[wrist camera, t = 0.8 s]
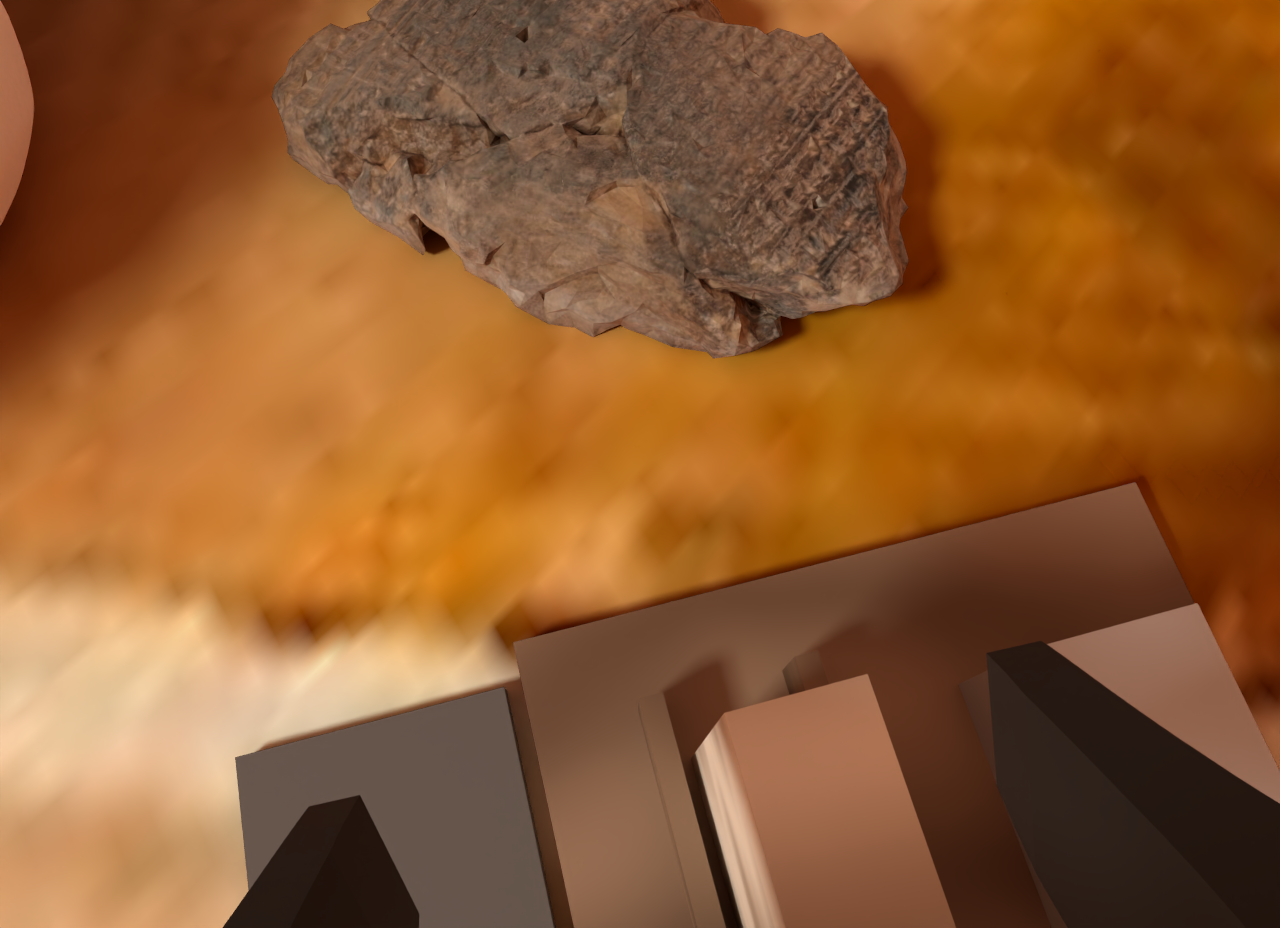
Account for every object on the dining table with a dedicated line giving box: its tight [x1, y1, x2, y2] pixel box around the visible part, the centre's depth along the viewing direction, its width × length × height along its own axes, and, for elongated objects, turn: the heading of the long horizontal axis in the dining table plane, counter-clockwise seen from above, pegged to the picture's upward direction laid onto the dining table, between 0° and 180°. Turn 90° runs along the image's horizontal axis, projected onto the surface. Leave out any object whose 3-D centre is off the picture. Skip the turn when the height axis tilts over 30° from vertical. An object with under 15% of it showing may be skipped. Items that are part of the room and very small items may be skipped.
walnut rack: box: [513, 482, 1195, 928], centre depth 22 cm, size 18×18×3 cm
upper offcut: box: [1047, 603, 1280, 803], centre depth 20 cm, size 8×4×2 cm, turn 15°
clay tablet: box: [272, 0, 909, 358], centre depth 30 cm, size 14×5×20 cm
